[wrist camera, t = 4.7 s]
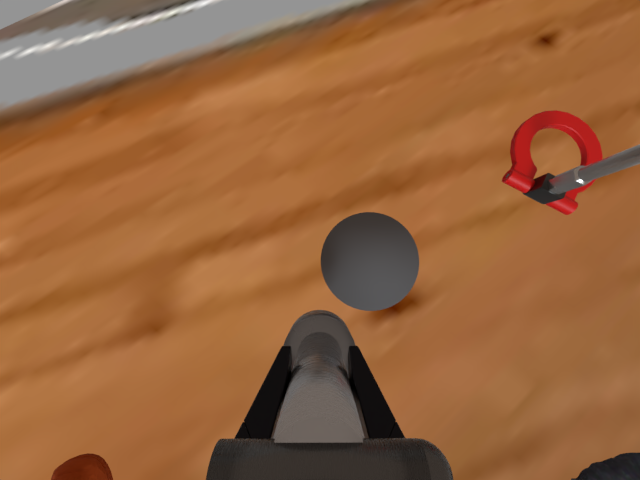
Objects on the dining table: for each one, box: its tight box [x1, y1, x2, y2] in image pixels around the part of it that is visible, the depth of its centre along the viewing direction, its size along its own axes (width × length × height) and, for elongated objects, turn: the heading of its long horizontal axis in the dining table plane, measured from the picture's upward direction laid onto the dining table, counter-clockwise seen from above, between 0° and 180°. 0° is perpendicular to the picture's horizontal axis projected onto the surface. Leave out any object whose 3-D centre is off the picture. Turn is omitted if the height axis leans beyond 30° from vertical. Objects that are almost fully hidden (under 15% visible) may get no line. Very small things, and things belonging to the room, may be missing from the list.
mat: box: [321, 212, 419, 311], centre depth 26 cm, size 9×9×1 cm
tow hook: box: [502, 110, 640, 215], centre depth 21 cm, size 8×13×9 cm
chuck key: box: [206, 310, 453, 480], centre depth 13 cm, size 4×6×14 cm
